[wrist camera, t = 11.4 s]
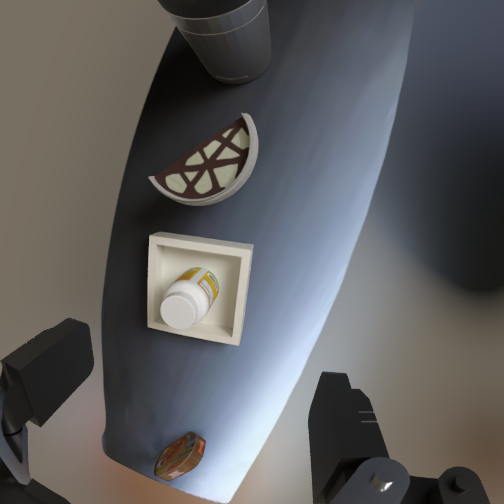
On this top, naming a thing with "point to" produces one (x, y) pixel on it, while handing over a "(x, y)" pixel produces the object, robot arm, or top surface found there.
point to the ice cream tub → (212, 166)
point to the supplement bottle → (189, 298)
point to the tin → (180, 457)
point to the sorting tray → (214, 259)
